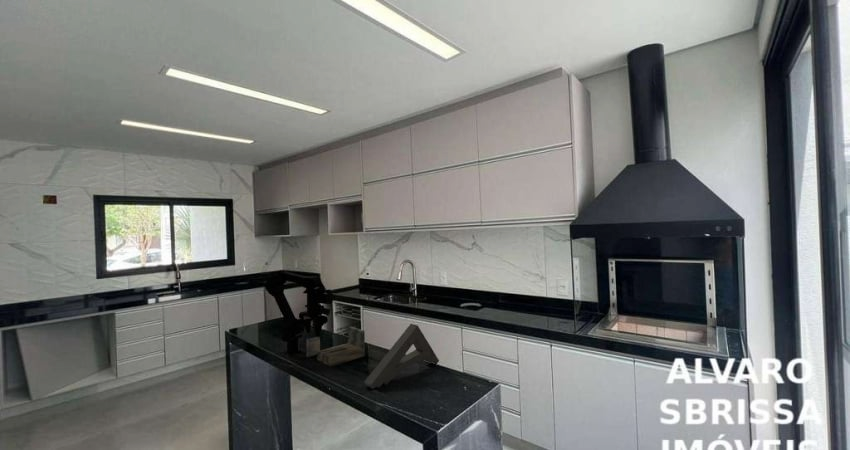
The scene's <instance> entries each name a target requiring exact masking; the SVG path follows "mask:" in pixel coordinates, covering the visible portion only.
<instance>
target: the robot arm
mask: <svg viewBox="0 0 850 450" xmlns="http://www.w3.org/2000/svg"><path fill="white" fill-rule="evenodd" d="M287 282H290V283H294V284H298V285H301V287H302V288H304V289H305V290H304V291H303V292H302V293H303V294H306V304H304V307H305V308H306V311H300V312H299V313H298V318H297V317H296V315H295V314H294V312H293V310H292V307H291V305H290V303H289V301H288V299H287V297H286V295H285V293H284V291H285V284H287ZM264 288H265V290H266V291H267V293H268V295H270V296H271V297H273V298H274V300H275V302H276V305H277V307H278V309H279V311H280V313H281V316H282V318H283V320H284V322H285V323H284V324H285V325H284V331H285V333H284V334H282V335H281V340H282V342H285V344H286V346H285V349H284V350H283V352H284V353H285V354H287V355H293V354H297V353H300V352H302V349H301V348H299V346H300V345H299V339H300V338H303V335H304V332H305V331H306V333H307V334H310V333H311V328H312V327H313V331H314V334H315V337H320V334H321V331H322V328H323V326H325V325H326V324H327V323H329V316H330V313H331V309H330V308H327V307H325V305H332V303H333V302H334V298H335V296H334V294H333V292H332V289H326V286H325V285H324V283H323V282H322V279H321V277H319V276H313V275H303V274H298V273H294V272H290V271H288V270H286V271H280V272H278V274H276V275H274V276H273V277H271V278H269V279H267V280H266V282H265V283H264ZM322 304H324V305H322ZM327 316H328V317H327Z"/></svg>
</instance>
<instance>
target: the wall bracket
mask: <svg viewBox="0 0 850 450" xmlns="http://www.w3.org/2000/svg"><path fill="white" fill-rule="evenodd" d="M412 346H414V348H415V350H413V351H411V352H409V353H407V352H408V351H409V350H410V349H411V348H412ZM424 361H425V362H428V363H430V364H434V365H438V363H439V361H440V359H439V358H438V356H437V355H436V353H435V352H434V350H433V348H432V346H431V344H430V343H429V342H428V340H427V338H426V337H425V335H424V333H423V332H422V330H421V329H420V327H419V325H417V324H413V323H410V324H409V325H408V326H407V328H406V329H405V330H404V331H403V333H402V334H401V336H399V338H397V340H396V341H395V342H394V344H393V345H392V347H391V348H390V349H389V350H388V351H387V353H386V354H385V356H384V357H383V358H382V359H381V360H380V361H379V363H378V364H377V365H376V367H375V368H374V369H373V370H372V371H371V372H370V374H369V375H368V376H367V378H366V379H365V380H364V382H363V384H364V386H366V387H368V388H370V389H371V390H374V389H375V388H381V386H382V385H385V386H386V385H388V384H389V383H390V382H391V381H392V380H393V379H394V377H396V375H398V374H399V373H400V372H401V371H403V370H404V369H406V368H407V367H409V366H411V365H414V364H416V363H419V362H420V363H421V362H424Z"/></svg>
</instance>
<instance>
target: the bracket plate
mask: <svg viewBox="0 0 850 450" xmlns="http://www.w3.org/2000/svg"><path fill="white" fill-rule="evenodd" d="M305 341H306V348H305V349H306V357H307V358H311V357H313V356H316V355H317V351H320V350H321V337H320V336H319V337H316V336H315V337H310V338H306V340H305Z"/></svg>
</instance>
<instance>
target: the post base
mask: <svg viewBox="0 0 850 450" xmlns="http://www.w3.org/2000/svg"><path fill="white" fill-rule="evenodd" d="M365 332H366V331H365V330H364V329H360V328H357V327H354V326H351V325H349V326H347V343H343V344H340V345H335V346H332V347H327V348H324V349H320V351H317V357H316V358H317V361H318V362H320V363H323V364H324V365H326V366H328V367H330V368H332V367H334V366H337V365H340V364H344V363H346V362H350V361H353V360H356V359H360V358H362V357H365V356H366V355H365V354H366V353H365V352H366V348H365V346H366V345H365V344H366V343H365V341H366V340H365V337H366V335H365Z"/></svg>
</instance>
